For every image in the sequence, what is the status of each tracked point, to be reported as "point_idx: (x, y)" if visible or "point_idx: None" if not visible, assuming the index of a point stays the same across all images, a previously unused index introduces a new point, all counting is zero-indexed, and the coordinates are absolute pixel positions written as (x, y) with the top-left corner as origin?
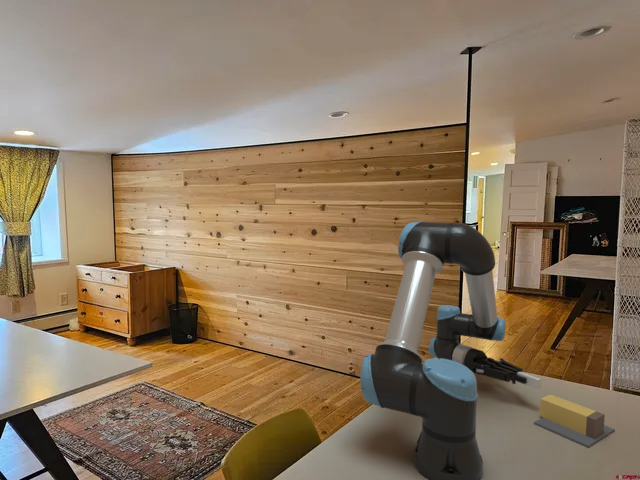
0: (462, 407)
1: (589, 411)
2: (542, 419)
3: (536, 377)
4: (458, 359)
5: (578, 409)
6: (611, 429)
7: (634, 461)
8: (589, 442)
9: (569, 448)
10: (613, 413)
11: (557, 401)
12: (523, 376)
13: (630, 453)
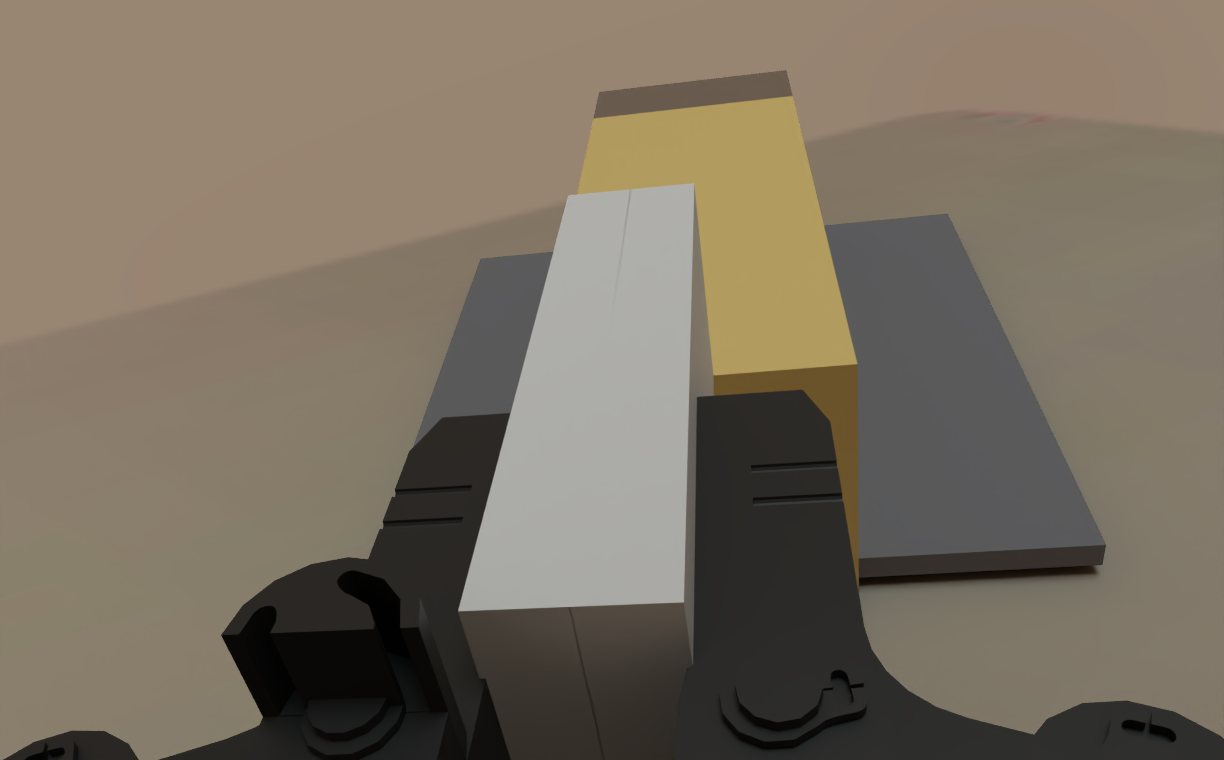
0: None
1: (654, 124)
2: (912, 537)
3: (560, 246)
4: None
5: (705, 152)
6: (502, 264)
7: (804, 142)
8: (889, 228)
9: (1107, 268)
10: (91, 393)
11: (705, 269)
12: (690, 456)
13: None
